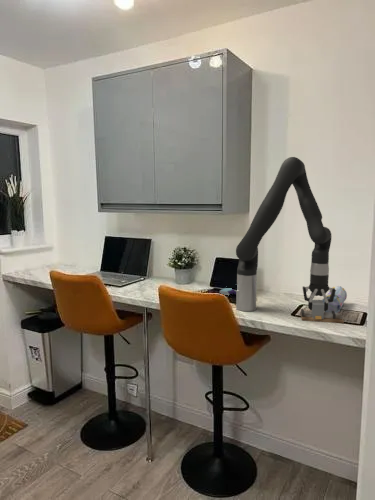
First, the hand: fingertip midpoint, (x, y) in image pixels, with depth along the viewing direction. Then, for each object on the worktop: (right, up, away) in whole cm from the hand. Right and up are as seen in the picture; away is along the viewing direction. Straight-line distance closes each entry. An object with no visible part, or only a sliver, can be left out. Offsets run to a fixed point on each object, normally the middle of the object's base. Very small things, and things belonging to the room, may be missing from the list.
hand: (317, 310), depth 161 cm
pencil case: (+13, -2, +14) cm, 19 cm away
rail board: (+2, -4, 0) cm, 4 cm away
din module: (0, -3, 0) cm, 3 cm away
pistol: (-30, +1, +42) cm, 52 cm away
